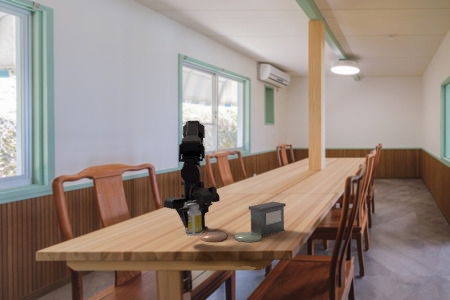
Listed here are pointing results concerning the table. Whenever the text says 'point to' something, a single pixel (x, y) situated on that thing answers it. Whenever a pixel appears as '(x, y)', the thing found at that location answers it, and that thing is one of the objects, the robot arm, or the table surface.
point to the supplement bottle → (194, 220)
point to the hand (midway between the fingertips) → (193, 226)
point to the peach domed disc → (213, 236)
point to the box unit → (267, 218)
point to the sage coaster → (248, 237)
